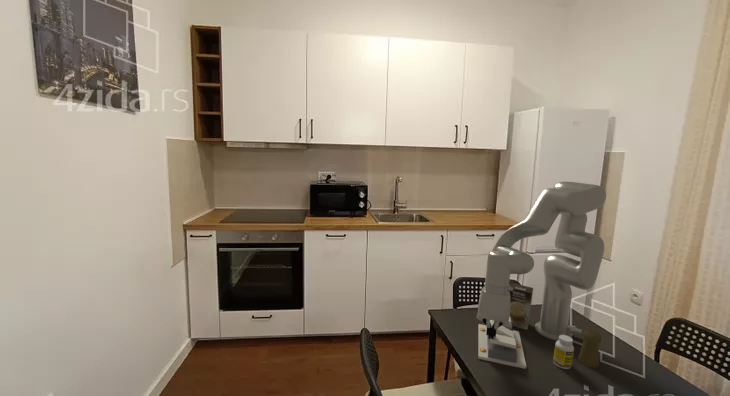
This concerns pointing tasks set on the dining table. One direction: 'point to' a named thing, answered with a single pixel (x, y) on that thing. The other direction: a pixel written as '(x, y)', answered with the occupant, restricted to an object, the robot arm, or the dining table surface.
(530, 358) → the dining table surface
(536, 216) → the robot arm
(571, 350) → the supplement bottle
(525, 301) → the coffee box
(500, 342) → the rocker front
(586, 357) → the cork
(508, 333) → the rocker middle
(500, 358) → the switch unit
